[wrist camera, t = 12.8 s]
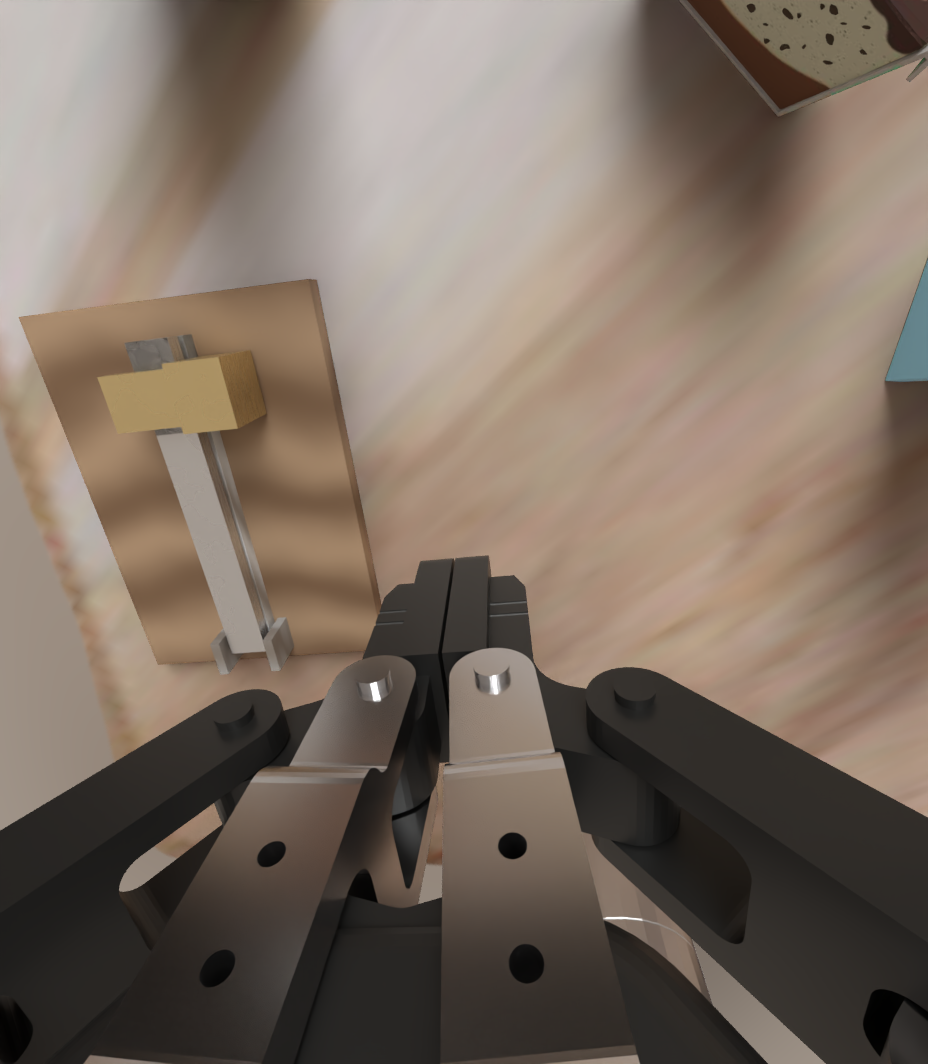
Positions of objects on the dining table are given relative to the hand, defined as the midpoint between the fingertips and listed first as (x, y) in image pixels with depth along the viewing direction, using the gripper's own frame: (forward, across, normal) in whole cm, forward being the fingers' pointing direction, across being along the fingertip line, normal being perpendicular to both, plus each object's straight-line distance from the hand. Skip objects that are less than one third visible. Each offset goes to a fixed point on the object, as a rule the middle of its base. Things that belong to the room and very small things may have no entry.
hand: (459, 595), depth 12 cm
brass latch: (+21, +16, -3) cm, 27 cm away
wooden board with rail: (+23, +17, +4) cm, 29 cm away
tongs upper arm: (+20, +17, +4) cm, 27 cm away
